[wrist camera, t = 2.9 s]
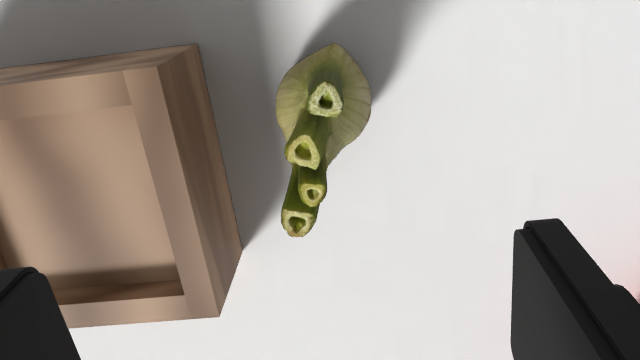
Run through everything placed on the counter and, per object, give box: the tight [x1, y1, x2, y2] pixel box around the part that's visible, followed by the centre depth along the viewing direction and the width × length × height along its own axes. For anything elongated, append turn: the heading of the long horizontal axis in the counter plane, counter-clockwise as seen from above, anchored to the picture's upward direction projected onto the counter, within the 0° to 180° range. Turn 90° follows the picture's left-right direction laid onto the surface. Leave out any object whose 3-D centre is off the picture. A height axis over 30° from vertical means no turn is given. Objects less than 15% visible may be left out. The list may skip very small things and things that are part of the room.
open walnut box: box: [0, 44, 242, 328], centre depth 27 cm, size 13×13×6 cm
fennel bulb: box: [275, 43, 372, 237], centre depth 23 cm, size 6×5×12 cm
